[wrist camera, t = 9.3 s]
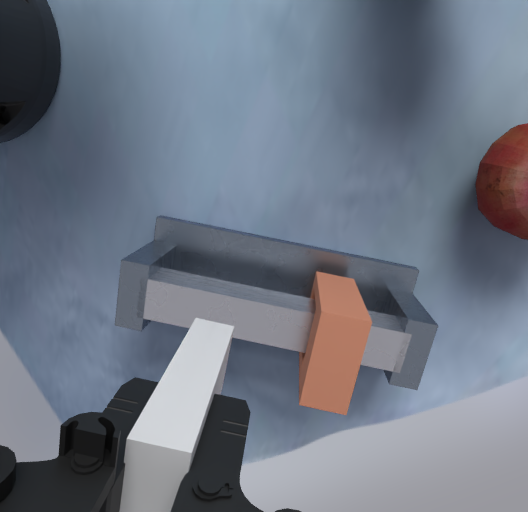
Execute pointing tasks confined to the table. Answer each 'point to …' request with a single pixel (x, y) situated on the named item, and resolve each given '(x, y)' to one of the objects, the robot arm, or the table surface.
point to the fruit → (506, 182)
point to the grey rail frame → (270, 292)
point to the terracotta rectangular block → (333, 344)
